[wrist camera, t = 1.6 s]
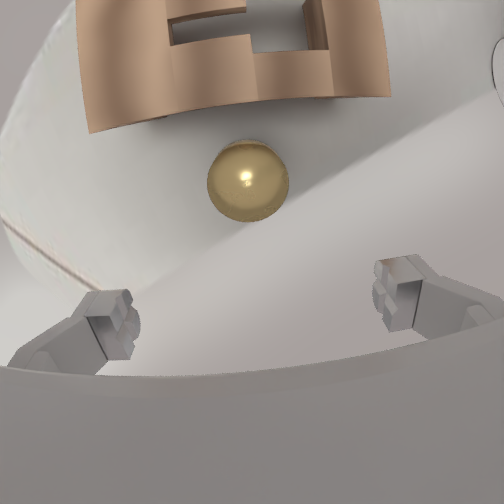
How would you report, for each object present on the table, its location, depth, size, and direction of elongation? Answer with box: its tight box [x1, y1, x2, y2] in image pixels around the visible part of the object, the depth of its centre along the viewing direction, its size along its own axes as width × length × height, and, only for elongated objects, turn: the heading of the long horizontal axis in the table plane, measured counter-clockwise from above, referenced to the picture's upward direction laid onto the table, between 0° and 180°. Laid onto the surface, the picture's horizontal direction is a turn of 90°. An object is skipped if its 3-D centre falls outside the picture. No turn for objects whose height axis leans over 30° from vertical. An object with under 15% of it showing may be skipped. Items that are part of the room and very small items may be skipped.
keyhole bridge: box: [76, 0, 391, 134], centre depth 23 cm, size 22×12×15 cm, turn 97°
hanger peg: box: [207, 140, 289, 222], centre depth 29 cm, size 6×6×14 cm
